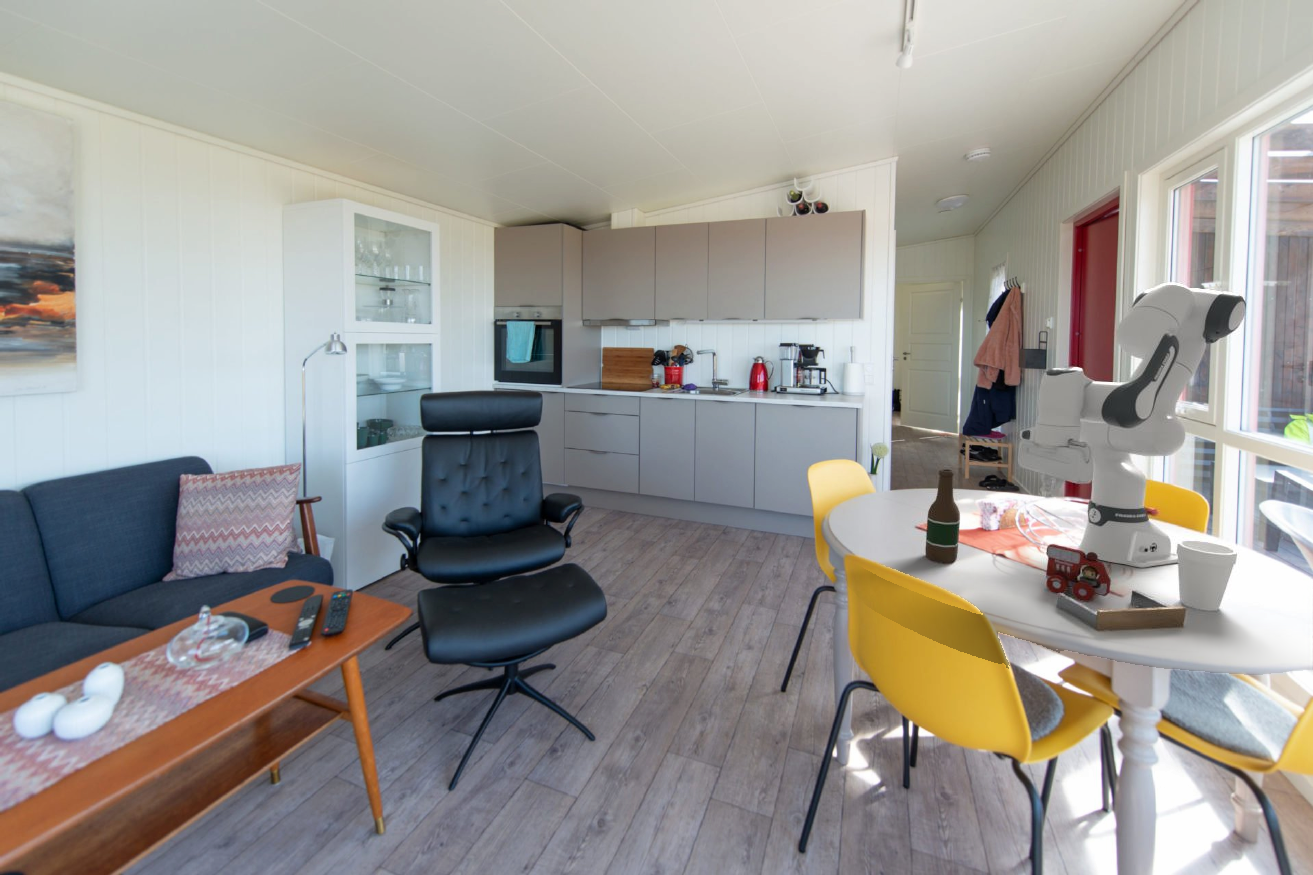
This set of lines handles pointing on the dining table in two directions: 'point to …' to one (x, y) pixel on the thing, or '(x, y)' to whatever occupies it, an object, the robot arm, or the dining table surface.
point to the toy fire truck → (1076, 573)
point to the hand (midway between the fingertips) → (1050, 493)
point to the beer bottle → (943, 522)
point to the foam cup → (1204, 573)
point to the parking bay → (1126, 614)
